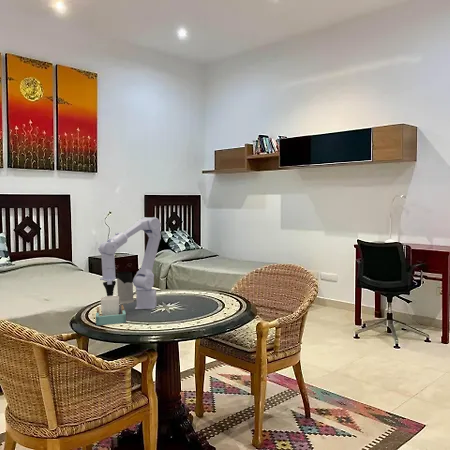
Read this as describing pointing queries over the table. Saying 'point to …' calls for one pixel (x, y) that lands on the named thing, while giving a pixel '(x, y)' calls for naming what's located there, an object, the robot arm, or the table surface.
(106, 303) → the white cup
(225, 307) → the table surface
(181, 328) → the table surface
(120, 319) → the tray
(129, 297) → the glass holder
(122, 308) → the holster cradle
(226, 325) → the table surface
